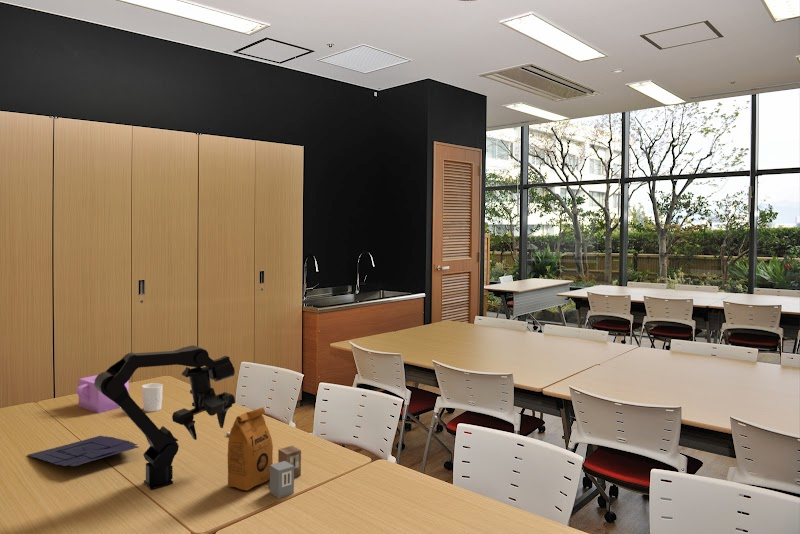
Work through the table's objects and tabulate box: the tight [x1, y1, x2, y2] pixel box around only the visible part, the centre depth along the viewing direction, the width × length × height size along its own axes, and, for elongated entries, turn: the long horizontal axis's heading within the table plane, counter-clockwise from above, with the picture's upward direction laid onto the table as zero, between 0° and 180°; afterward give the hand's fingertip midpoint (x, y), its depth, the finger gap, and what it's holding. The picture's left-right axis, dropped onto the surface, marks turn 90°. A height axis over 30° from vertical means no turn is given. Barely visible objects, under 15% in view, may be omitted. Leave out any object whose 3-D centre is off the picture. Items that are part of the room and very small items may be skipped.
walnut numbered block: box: [277, 445, 302, 479], centre depth 180 cm, size 5×5×8 cm
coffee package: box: [227, 407, 274, 491], centre depth 173 cm, size 10×12×22 cm
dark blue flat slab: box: [27, 435, 139, 467], centre depth 191 cm, size 24×30×4 cm
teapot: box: [75, 374, 130, 414], centre depth 245 cm, size 15×25×14 cm, turn 146°
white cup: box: [141, 382, 164, 413], centre depth 241 cm, size 8×8×10 cm
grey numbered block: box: [269, 461, 295, 499], centre depth 168 cm, size 5×5×8 cm
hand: (208, 433), depth 182 cm, fingers open, 9 cm apart
